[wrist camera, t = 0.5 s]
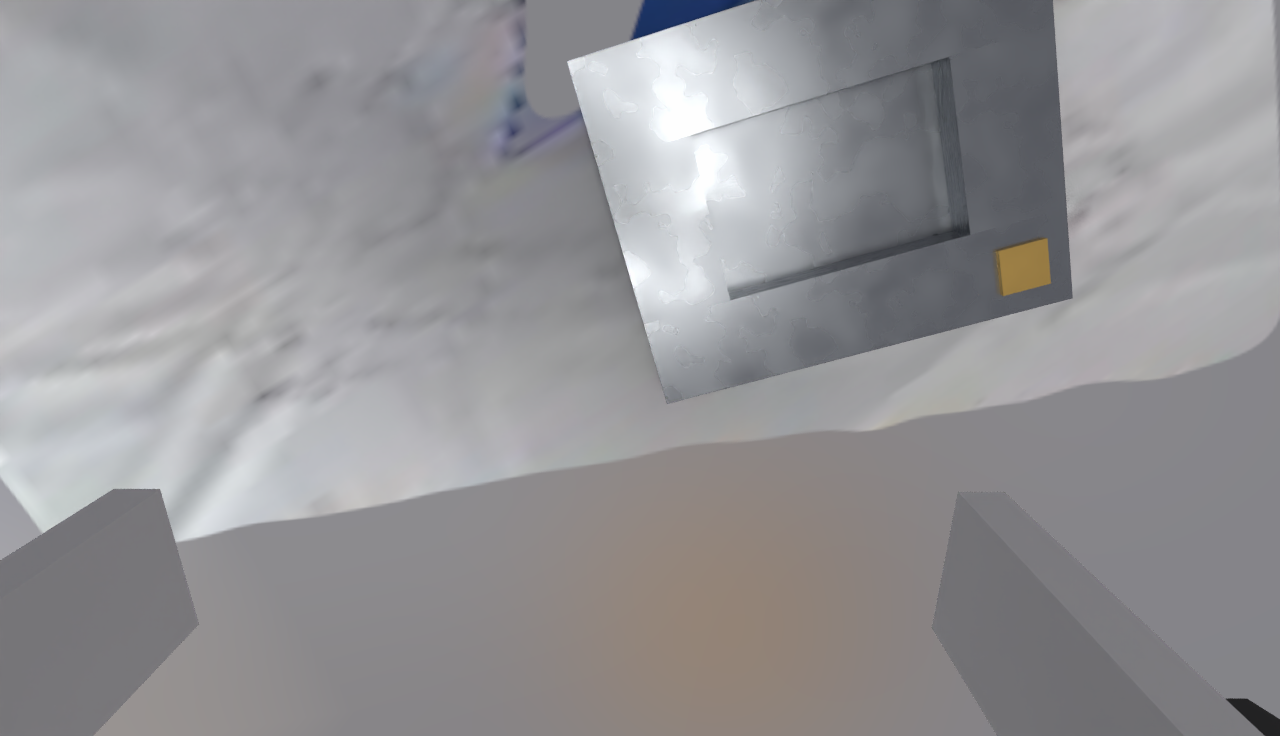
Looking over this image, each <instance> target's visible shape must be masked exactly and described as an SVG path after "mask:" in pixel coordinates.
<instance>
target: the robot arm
mask: <svg viewBox="0 0 1280 736" xmlns="http://www.w3.org/2000/svg"><path fill="white" fill-rule="evenodd" d="M198 625H199V622H198V619H197V615H196V612H195V608H194V605H193V601H192V598H191V595H190V591H189V588H188V584H187V581H186V578H185V574H184V570H183V567H182V563H181V560H180V557H179V553H178V550H177V546H176V543H175V539H174V536H173V532H172V529H171V525H170V522H169V519H168V515H167V512H166V508H165V505H164V501H163V498H162V494H161V491H160V489H113V490H111V491H110V492H108V493H107V494H105V495H103V496H102V497H100V498H99V499H97V500H95V501H94V502H92V503H91V504H89V505H88V506H86V507H84V508H83V509H81V510H80V511H78V512H76V513H75V514H73V515H72V516H70V517H69V518H67V519H65V520H64V521H62V522H61V523H59V524H57V525H56V526H54V527H53V528H51V529H49V530H48V531H46V532H45V533H43V534H42V535H40V536H38V537H37V538H35V539H34V540H32V541H30V542H29V543H27V544H26V545H24V546H22V547H21V548H19V549H18V550H16V551H15V552H13V553H11V554H10V555H8V556H7V557H5V558H3V559H2V560H0V736H93V735H94V734H95V733H96V732H97V731H98V730H99V729H100V728H101V727H102V726H103V725H104V724H105V723H106V722H107V721H108V720H109V719H110V717H111V716H112V715H113V714H114V713H115V712H116V711H117V710H118V709H119V708H120V707H121V706H122V705H123V704H124V703H125V702H126V701H127V699H128V698H130V696H131V695H132V694H133V693H134V692H135V691H136V690H137V689H138V688H139V687H140V686H141V685H142V684H143V683H144V682H145V681H146V680H147V678H149V676H150V675H151V674H152V673H153V672H154V671H155V670H156V669H157V668H158V667H159V666H160V665H161V664H162V663H163V662H164V661H165V660H166V659H167V657H168V656H169V655H170V654H171V653H172V652H173V651H174V650H175V649H176V648H177V647H178V646H179V645H180V644H181V643H182V641H184V640H185V638H186V637H187V636H188V635H189V634H190V633H191V632H192V631H193V630H194V629H195V628H196V627H197V626H198ZM932 629H933V631H934V632H935V634H936V636H937V637H938V639H939V641H940V642H941V644H942V646H943V647H944V649H945V651H946V652H947V654H948V656H949V657H950V659H951V661H952V662H953V664H954V666H955V667H956V669H957V670H958V672H959V674H960V675H961V677H962V679H963V680H964V682H965V683H966V685H967V687H968V689H969V690H970V692H971V694H972V695H973V697H974V698H975V700H976V701H977V703H978V705H979V707H980V708H981V710H982V712H983V713H984V715H985V717H986V718H987V720H988V722H989V723H990V725H991V727H992V728H993V730H994V732H995V733H996V735H997V736H1280V719H1278V718H1277V717H1275V716H1274V715H1272V714H1270V713H1269V712H1267V711H1266V710H1264V709H1263V708H1261V707H1259V706H1258V705H1256V704H1255V703H1253V702H1251V701H1250V700H1248V699H1225V698H1224V697H1223V696H1222V695H1221V694H1219V693H1218V692H1217V691H1216V690H1215V689H1214V688H1213V687H1212V686H1211V685H1210V684H1209V683H1208V682H1207V681H1206V680H1204V679H1203V678H1202V677H1201V676H1200V675H1199V674H1198V673H1197V672H1196V671H1195V670H1194V669H1193V668H1192V667H1191V666H1189V664H1188V663H1186V662H1185V661H1184V660H1183V659H1182V658H1181V657H1180V656H1179V655H1178V654H1177V653H1176V652H1175V651H1174V650H1172V648H1170V647H1169V646H1168V645H1167V644H1166V643H1165V642H1164V641H1163V640H1162V639H1161V638H1160V637H1158V635H1157V634H1155V633H1154V632H1153V631H1152V630H1151V629H1150V628H1149V627H1148V626H1147V625H1146V624H1145V623H1144V622H1143V621H1142V620H1141V619H1140V618H1138V617H1137V616H1136V615H1135V614H1134V613H1133V612H1132V611H1131V610H1130V609H1129V608H1128V607H1127V606H1126V605H1124V604H1123V603H1122V602H1121V601H1120V600H1119V599H1118V598H1117V597H1116V596H1115V595H1114V594H1113V593H1112V592H1111V591H1109V589H1108V588H1106V587H1105V586H1104V585H1103V584H1102V583H1101V582H1100V581H1099V580H1098V579H1097V578H1096V577H1095V576H1094V575H1093V574H1091V573H1090V572H1089V571H1088V570H1087V569H1086V568H1085V567H1084V566H1083V565H1082V564H1081V563H1080V562H1079V561H1078V560H1077V559H1076V558H1074V557H1073V556H1072V555H1071V554H1070V553H1069V552H1068V551H1067V550H1066V549H1065V548H1064V547H1063V546H1062V545H1061V544H1060V543H1058V542H1057V541H1056V540H1055V539H1054V538H1053V537H1052V536H1051V535H1050V534H1049V533H1048V532H1047V531H1046V530H1045V529H1043V528H1042V527H1041V526H1040V525H1039V524H1038V523H1037V522H1036V521H1035V520H1034V519H1033V518H1032V517H1031V516H1030V515H1029V514H1028V513H1026V512H1025V511H1024V510H1023V509H1022V508H1021V507H1020V506H1019V505H1018V504H1017V503H1016V502H1015V501H1014V500H1013V499H1012V498H1010V497H1009V496H1008V495H1007V494H1006V493H1005V492H958V494H957V499H956V505H955V510H954V515H953V520H952V525H951V531H950V537H949V541H948V546H947V552H946V557H945V562H944V567H943V573H942V578H941V583H940V588H939V593H938V598H937V604H936V609H935V614H934V619H933V624H932Z"/></svg>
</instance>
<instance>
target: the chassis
mask: <svg viewBox="0 0 1280 736" xmlns="http://www.w3.org/2000/svg"><path fill="white" fill-rule="evenodd" d="M567 63H568V67H569V70H570V73H571V77H572V80H573V84H574V87H575V91H576V94H577V97H578V101H579V104H580V108H581V111H582V115H583V118H584V122H585V125H586V128H587V132H588V135H589V139H590V142H591V145H592V149H593V152H594V156H595V159H596V163H597V166H598V169H599V173H600V176H601V180H602V183H603V186H604V190H605V193H606V197H607V200H608V204H609V207H610V210H611V214H612V217H613V221H614V224H615V228H616V231H617V234H618V238H619V241H620V245H621V248H622V251H623V255H624V258H625V262H626V265H627V269H628V272H629V275H630V279H631V282H632V286H633V289H634V293H635V296H636V299H637V303H638V306H639V310H640V313H641V316H642V320H643V323H644V327H645V330H646V334H647V337H648V340H649V344H650V347H651V351H652V354H653V357H654V361H655V364H656V368H657V371H658V375H659V378H660V381H661V385H662V388H663V392H664V395H665V399H666V402H667V404H668V403H672V402H676V401H680V400H684V399H688V398H691V397H695V396H699V395H703V394H707V393H711V392H715V391H718V390H722V389H726V388H730V387H734V386H738V385H741V384H745V383H749V382H753V381H757V380H761V379H764V378H768V377H772V376H776V375H780V374H784V373H787V372H791V371H795V370H799V369H803V368H807V367H810V366H814V365H818V364H822V363H826V362H830V361H833V360H837V359H841V358H845V357H849V356H853V355H856V354H860V353H864V352H868V351H872V350H876V349H879V348H883V347H887V346H891V345H895V344H899V343H902V342H906V341H910V340H914V339H918V338H922V337H925V336H929V335H933V334H937V333H941V332H945V331H948V330H952V329H956V328H960V327H964V326H968V325H971V324H975V323H979V322H983V321H987V320H991V319H994V318H998V317H1002V316H1006V315H1010V314H1014V313H1017V312H1021V311H1025V310H1029V309H1033V308H1037V307H1040V306H1044V305H1048V304H1052V303H1056V302H1060V301H1063V300H1067V299H1071V298H1073V297H1072V282H1071V267H1070V252H1069V238H1068V223H1067V208H1066V193H1065V178H1064V163H1063V148H1062V133H1061V118H1060V103H1059V88H1058V73H1057V58H1056V43H1055V28H1054V13H1053V0H756V1H753V2H750V3H747V4H744V5H740V6H737V7H734V8H731V9H728V10H725V11H722V12H719V13H716V14H713V15H709V16H706V17H703V18H700V19H697V20H694V21H691V22H688V23H685V24H681V25H678V26H675V27H672V28H669V29H666V30H663V31H660V32H657V33H654V34H650V35H647V36H644V37H641V38H638V39H635V40H632V41H629V42H626V43H622V44H620V45H617V46H613V47H610V48H607V49H604V50H601V51H598V52H595V53H592V54H588V55H585V56H582V57H579V58H576V59H573V60H570V61H568V62H567Z"/></svg>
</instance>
